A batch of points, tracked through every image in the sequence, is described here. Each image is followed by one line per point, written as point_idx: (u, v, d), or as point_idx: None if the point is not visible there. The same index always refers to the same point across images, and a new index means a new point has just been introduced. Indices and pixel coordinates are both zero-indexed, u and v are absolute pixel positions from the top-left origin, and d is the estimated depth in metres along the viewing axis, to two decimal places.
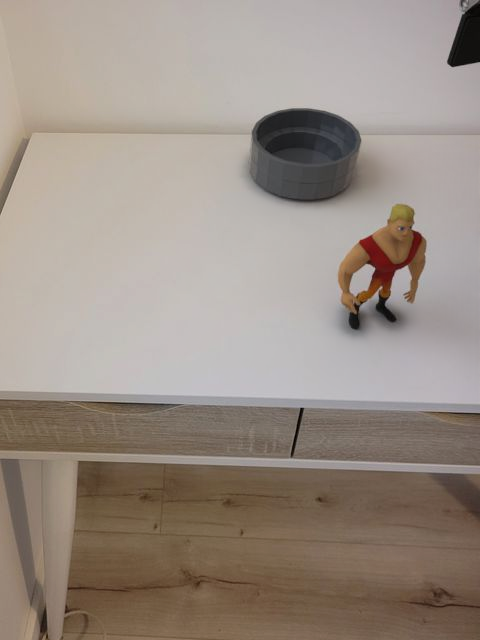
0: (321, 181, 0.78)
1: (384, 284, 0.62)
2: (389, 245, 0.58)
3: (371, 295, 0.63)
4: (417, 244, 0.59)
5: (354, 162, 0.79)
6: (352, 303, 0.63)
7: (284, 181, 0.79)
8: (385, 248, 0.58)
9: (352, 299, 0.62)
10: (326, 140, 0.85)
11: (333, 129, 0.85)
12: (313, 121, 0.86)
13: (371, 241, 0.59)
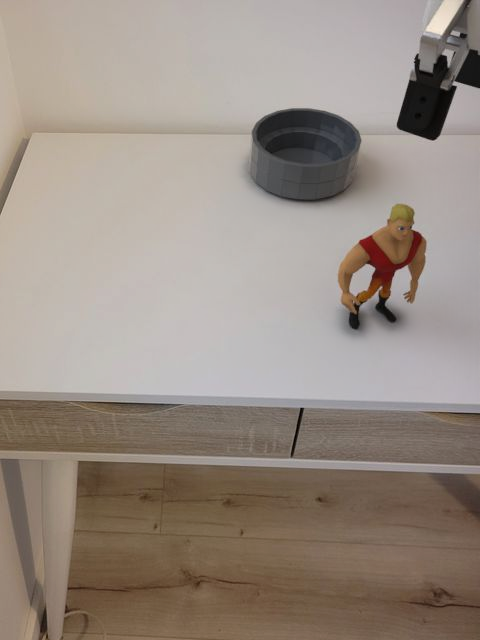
0: (321, 181, 0.78)
1: (384, 284, 0.62)
2: (389, 245, 0.58)
3: (371, 295, 0.63)
4: (417, 244, 0.59)
5: (354, 162, 0.79)
6: (352, 303, 0.63)
7: (284, 181, 0.79)
8: (385, 248, 0.58)
9: (352, 299, 0.62)
10: (326, 140, 0.85)
11: (333, 129, 0.85)
12: (313, 121, 0.86)
13: (370, 241, 0.59)
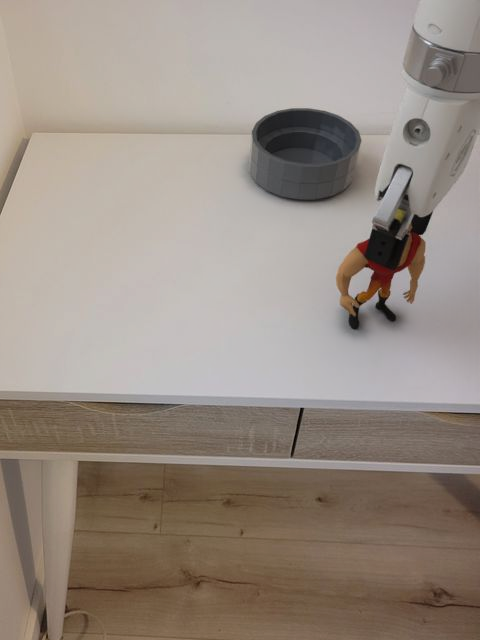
0: (321, 181, 0.78)
1: (383, 286, 0.62)
2: None
3: (370, 296, 0.63)
4: (415, 247, 0.59)
5: (354, 162, 0.79)
6: (351, 305, 0.62)
7: (284, 181, 0.79)
8: None
9: (351, 302, 0.62)
10: (326, 140, 0.85)
11: (333, 129, 0.85)
12: (313, 121, 0.86)
13: None
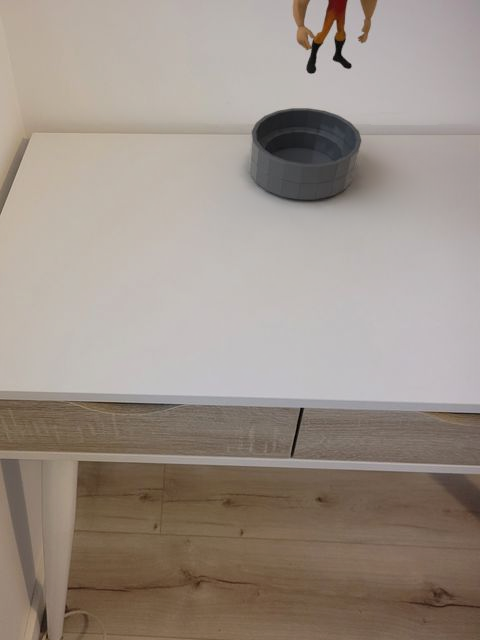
0: (321, 181, 0.78)
1: (337, 16, 0.65)
2: None
3: (326, 33, 0.66)
4: None
5: (354, 162, 0.79)
6: (307, 37, 0.66)
7: (284, 181, 0.79)
8: None
9: (306, 32, 0.65)
10: (326, 140, 0.85)
11: (333, 129, 0.85)
12: (313, 121, 0.86)
13: None
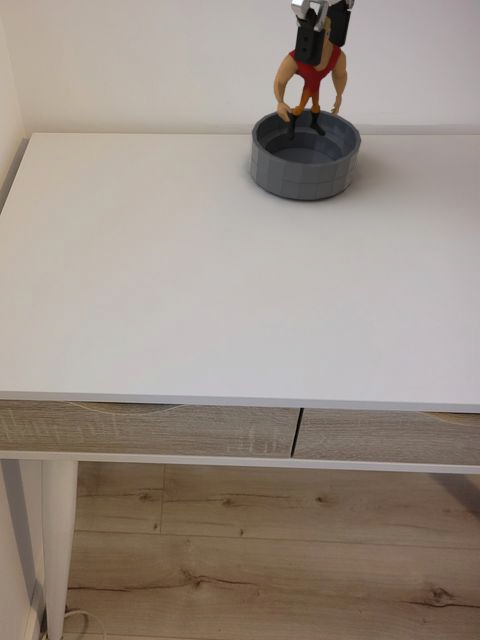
0: (321, 181, 0.78)
1: (312, 95, 0.75)
2: None
3: (302, 107, 0.77)
4: (336, 55, 0.72)
5: (354, 162, 0.79)
6: (285, 111, 0.76)
7: (284, 181, 0.79)
8: None
9: (285, 107, 0.75)
10: (326, 140, 0.85)
11: (333, 129, 0.85)
12: None
13: None
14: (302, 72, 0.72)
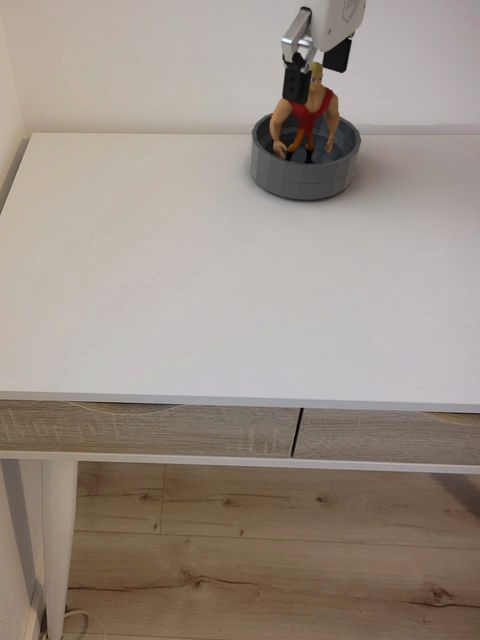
0: (321, 181, 0.78)
1: (306, 134, 0.79)
2: None
3: (297, 145, 0.81)
4: (329, 98, 0.77)
5: (354, 162, 0.79)
6: (281, 149, 0.80)
7: (284, 181, 0.79)
8: None
9: (281, 146, 0.80)
10: (326, 140, 0.85)
11: None
12: None
13: None
14: (296, 113, 0.77)
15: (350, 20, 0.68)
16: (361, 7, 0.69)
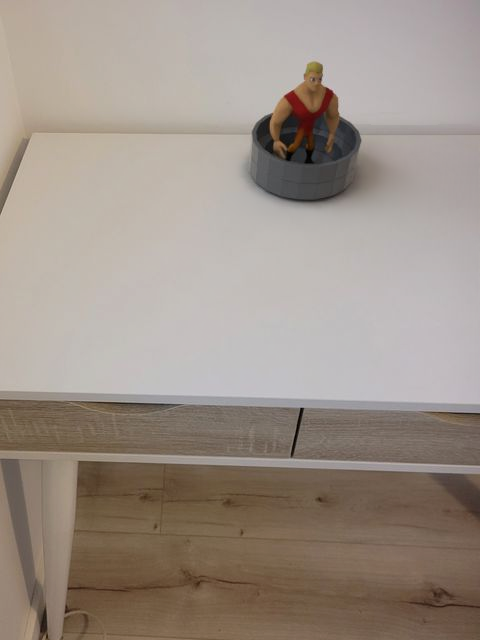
0: (321, 181, 0.78)
1: (306, 134, 0.79)
2: (306, 96, 0.76)
3: (297, 145, 0.81)
4: (329, 98, 0.77)
5: (354, 162, 0.79)
6: (281, 149, 0.80)
7: (284, 181, 0.79)
8: (302, 99, 0.76)
9: (281, 146, 0.80)
10: (326, 140, 0.85)
11: None
12: None
13: (292, 94, 0.76)
14: (296, 113, 0.77)
15: None
16: None
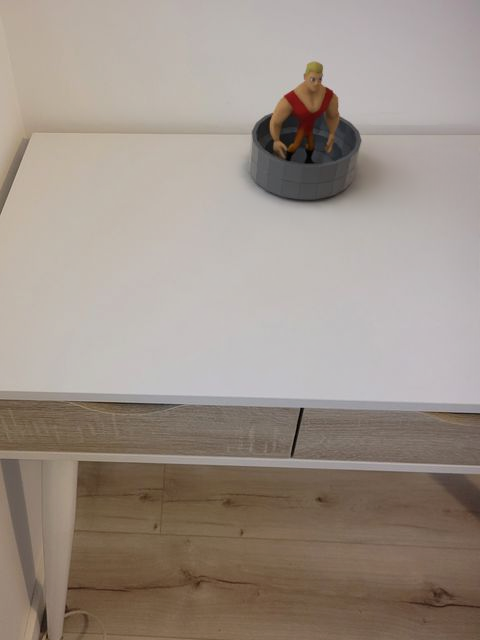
0: (321, 181, 0.78)
1: (306, 134, 0.79)
2: (306, 96, 0.76)
3: (297, 145, 0.81)
4: (329, 98, 0.77)
5: (354, 162, 0.79)
6: (281, 149, 0.80)
7: (284, 181, 0.79)
8: (302, 99, 0.76)
9: (281, 146, 0.80)
10: (326, 140, 0.85)
11: None
12: None
13: (292, 94, 0.76)
14: (296, 113, 0.77)
15: None
16: None
